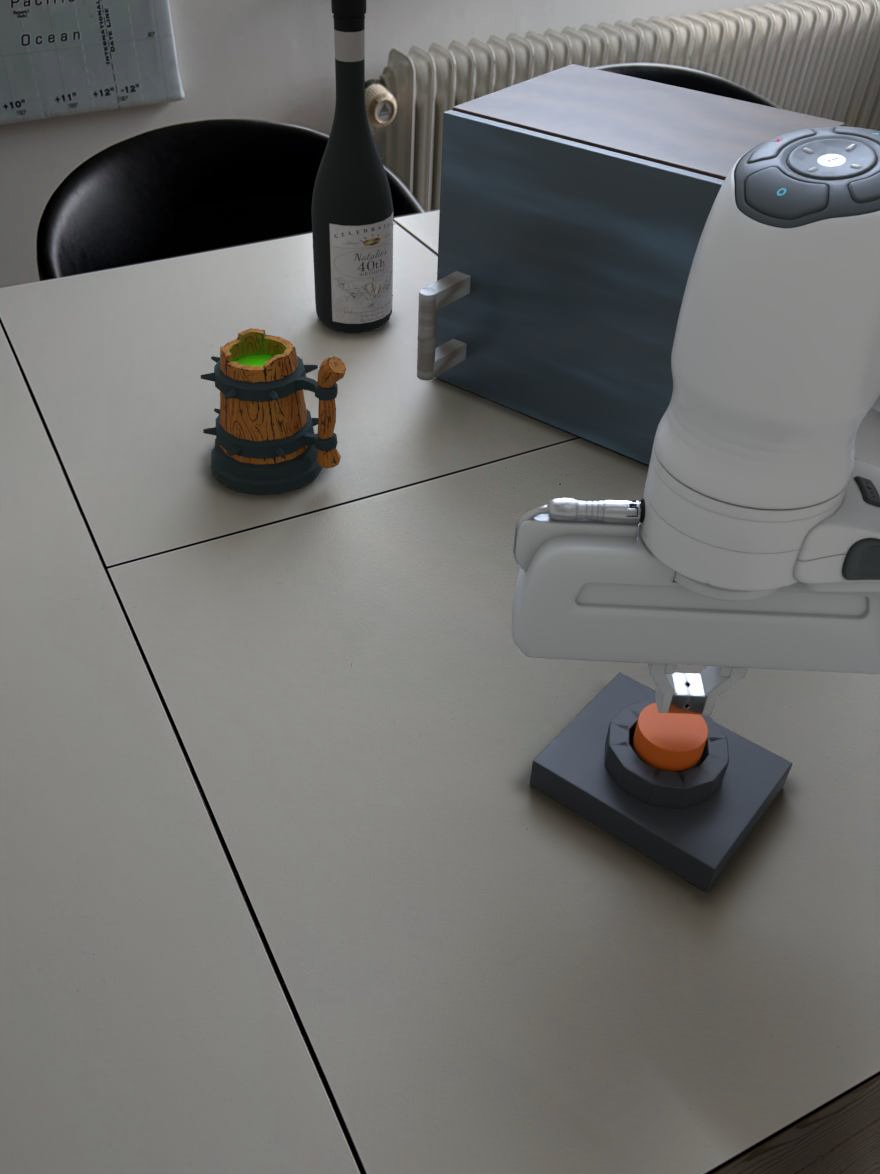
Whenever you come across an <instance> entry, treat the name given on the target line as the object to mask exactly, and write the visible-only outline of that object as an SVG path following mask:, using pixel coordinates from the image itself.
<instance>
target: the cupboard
mask: <svg viewBox="0 0 880 1174" xmlns="http://www.w3.org/2000/svg"><path fill="white" fill-rule="evenodd" d="M451 110H453V111H457V112H461V113H465V114H469V115H472V116H476V117H480V118H484V119H488V120H492V121H496V122H500V123H504V124H507V125H511V126H515V127H519V128H523V129H527V130H531V131H535V132H539V133H542V134H546V135H550V136H554V137H558V138H562V139H566V140H570V141H574V142H577V143H581V144H585V145H589V146H593V147H597V148H601V149H605V150H608V151H612V152H616V153H620V154H624V155H628V156H632V157H636V158H640V159H643V160H647V161H651V162H655V163H659V164H663V165H667V166H671V167H675V168H678V169H682V170H686V171H690V172H694V173H698V174H702V175H706V176H710V177H713V178H717V179H721V180H725V179H726V177H727V175H728V173H729V171H730V170H731V168H732V167H733V165H734V164H735V163H736V162H737V160H738V159H739V158H740V157H741V156H742V155H743V154H745V153H746V152H747V151H749V150H750V149H752V148H753V147H755V146H757V145H759V144H761V143H763V142H765V141H767V140H770V139H772V138H775V137H777V136H780V135H783V134H786V133H789V132H793V131H797V130H802V129H812V128H821V127H838V126H846V122H844V121H839V120H834V119H830V118H825V117H819V116H816V115H811V114H806V113H801V112H797V111H793V110H787V109H783V108H778V107H774V106H769V105H765V104H761V103H756V102H751V101H747V100H741V99H737V98H732V97H727V96H723V95H718V94H714V93H709V92H705V91H701V90H700V91H699V90H695V89H691V88H686V87H682V86H681V87H680V86H676V85H672V84H667V83H662V82H658V81H653V80H648V79H643V78H640V77H635V76H631V75H625V74H621V73H617V72H612V71H606V70H604V69H603V70H602V69H597V68H593V67H588V66H584V65H579V64H575V63H571V64H568V65H566V66H562V67H560V68H557V69H554V70H552V71H549V72H546V73H543V74H540V75H538V76H534V77H532V78H530V79H527V80H523V81H521V82H518V83H515V84H513V85H510V86H507V87H504V88H502V89H499V90H496V91H493V92H490V93H487V94H484V95H482V96H479V97H477V98H474V99H471V100H468V101H466V102H465V101H464V102H463V103H460V104H457V105H455V106H452V109H451Z"/></svg>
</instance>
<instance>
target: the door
mask: <svg viewBox="0 0 880 1174" xmlns="http://www.w3.org/2000/svg"><path fill="white" fill-rule="evenodd" d="M441 139H442V140H441V160H440V161H441V163H440V165H441V166H440V188H439V190H440V191H439V192H440V193H439V214H438V215H439V217H438V218H439V219H438V241H437V242H438V243H437V245H438V246H437V266H436V268H437V269H436V270H437V273H436V281H434V282H432V283H430V284H428V285H425V286H424V287H422V288H420V289H419V291H418V311H417V312H418V313H417V314H418V316H417V350H416V351H417V353H416V354H417V357H416V377H417V379H419V380H421V381H431V380H433V379H435V378H437V379H439V380H442V381H444V382H447V383H449V384H451V385H454V386H456V387H459V388H462V389H463V390H465V391H468V392H471V393H473V394H476V395H478V396H481V397H482V398H485V399H488V400H490V401H492V402H495V403H497V404H499V405H502V406H504V407H507V408H509V409H512V410H514V411H516V412H518V413H521V414H524V415H526V416H529V417H531V418H533V419H536V420H538V421H541V422H543V423H545V424H548V425H550V426H553V427H555V428H558V429H560V430H563V431H566V433H567V432H568V433H570V434H572V435H574V436H577V437H579V438H582V439H585V440H587V441H589V442H591V443H594V444H596V445H599V446H602V447H604V448H606V449H609V450H611V451H614V452H616V453H618V454H621V455H623V456H625V457H628V458H631V459H632V460H635V461H637V462H640V463H643V464H645V465H647V466H649V464H650V459H651V454H652V448H653V443H654V438H655V434H656V431H657V428H658V425H659V423H660V421H661V419H662V417H663V415H664V413H665V412H666V410H667V408H668V406H669V404H670V401H671V398H672V393H673V376H672V369H671V353H672V348H673V343H674V338H675V333H676V328H677V322H678V318H679V314H680V309H681V305H682V300H683V296H684V292H685V288H686V284H687V280H688V277H689V273H690V270H691V266H692V263H693V259H694V256H695V253H696V249H697V246H698V243H699V240H700V237H701V234H702V232H703V229H704V226H705V224H706V221H707V218H708V216H709V213H710V211H711V208H712V206H713V204H714V201H715V199H716V197H717V195H718V193H719V190H720V188H721V186H722V184H723V182H724V180H721V179H717V178H713V177H710V176H706V175H702V174H698V173H694V172H690V171H686V170H682V169H678V168H675V167H671V166H667V165H663V164H659V163H655V162H651V161H647V160H643V159H640V158H636V157H632V156H628V155H624V154H620V153H616V152H612V151H608V150H605V149H601V148H597V147H593V146H589V145H585V144H581V143H577V142H574V141H570V140H566V139H562V138H558V137H554V136H550V135H546V134H542V133H539V132H535V131H531V130H527V129H523V128H519V127H515V126H511V125H507V124H504V123H500V122H496V121H492V120H488V119H484V118H480V117H476V116H472V115H469V114H465V113H461V112H457V111H453V110H452V109H449V110H445V111H443V113H442V136H441Z"/></svg>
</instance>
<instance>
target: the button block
mask: <svg viewBox="0 0 880 1174" xmlns="http://www.w3.org/2000/svg"><path fill="white" fill-rule="evenodd" d="M655 702H656V690H654V689H653V688H650V687H649V686H647V685H645V684H643V683H641V682H639V681H637V680H635V679H633V678H631V677H629V676H628V675H626V674H624V673H622V672H618V673H617V674H616V675H615V676H614V678H612V679H611V681H609V682H608V683H607V685H605V687H604V688H602V689H601V690H600V691H599V693H597V695H596V696H595V697H594V698H593V699H592V700H591V701H590V702H589V703H588V704H586V706H585V707H584V708H583V709H582V710H581V711H580V712H579V713H578V714H577V715H576V716H575V717H574V718H573V719H572V720H571V721H570V722H569V723H568V724H567V726H565V728H563V730H561V732H560V733H558V735H556V736H555V737H554V739H553V740H552V741H550V743H549V744H547V746H546V747H545V748H544V749H543V750H542V751H541V752H539V754H538V755H537V756H536V757H535V758H534V759H533V760H532V765H531V770H530V771H531V772H530V778H529V785H531V786H532V787H533V788H535V789H537V790H539V791H540V792H542V793H543V794H545V795H547V796H548V797H550V798H551V799H553V800H555V801H557V802H558V803H560V804H562V805H563V806H565V807H567V809H569V810H571V811H572V812H575V813H577V814H578V815H579V816H581V817H583V818H584V819H585V820H588V821H589V822H591V823H593V824H594V825H596V826H597V827H599V828H601V829H602V830H604V831H606V832H607V833H609V834H610V835H612V836H613V837H615V838H617V839H619V840H620V841H622V842H624V843H625V844H627V845H628V846H630V847H631V848H633V849H635V850H637V851H638V852H640V853H641V854H643V855H645V856H646V857H648V858H650V859H651V860H653V861H654V862H656V863H658V864H659V865H661V866H662V867H664V868H666V869H668V870H669V871H671V872H673V873H674V874H676V875H678V876H679V877H680V878H682V879H684V880H685V881H688V882H689V883H691V884H692V885H694V886H695V887H697V888H699V889H700V890H702V891H704V892H706V893H707V892H708V891H709V890H710V888H711V887H712V886H713V884H714V883H715V881H716V880H717V879H718V877H719V876H720V875H721V873H722V872H723V870H724V869H725V868H726V866H727V865H728V863H730V861H731V859H732V858H733V857H734V855H735V854H736V853H737V851H738V850H739V848H740V847H741V846H742V844H743V843H744V841H745V840H746V839H747V837H748V836H749V835H750V833H751V832H752V831H753V830H754V828H755V826H756V825H757V823H758V822H759V821H760V819H761V818H762V817H763V815H764V814H765V813H766V811H767V810H768V809H769V807H770V806H771V804H772V803H773V801H774V800H775V799H776V798H777V796H778V794H780V792H781V790H782V789H783V788H784V786H785V784H786V781H787V779H788V777H789V774H790V772H791V769H792V766H793V762H792V761H789V760H787V759H786V758H783V757H782V756H780V755H778V754H776V753H774V752H773V751H770V750H769V749H767V748H765V747H762V746H761V745H759V744H757V743H755V742H754V741H752V740H749V739H748V738H745V737H744V736H742V735H740V734H739V733H736V732H734V731H732V730H730V729H729V728H727V727H724V726H723V725H721V724H719V723H717V722H716V721H714V720H713V718H712V717H711V716H710V715H701V716H702V717H703V719H704V720H705V722H706V724H707V727H708V737H707V740H706V743H705V746H704V750H703V753H702V756H701V758H700V760H699V762H698V763H697V764H696V765H695V766H693V767H692V768H690V769H687V770H684V771H679V772H672V771H665V770H660V769H657V768H655V767H653V766H651V765H649V764H647V763H646V762H645V761H643V760H642V759H641V758H640V757H639V755H638V754H637V752H636V750H635V748H634V745H633V737H634V733H635V729H636V725H637V721H638V717H639V715H640V713H641V711H642V710H643V709H644V708H645V707H647V706H648V705H650V704H652V703H655Z"/></svg>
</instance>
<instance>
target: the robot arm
mask: <svg viewBox="0 0 880 1174" xmlns="http://www.w3.org/2000/svg"><path fill="white" fill-rule="evenodd" d="M671 369H672V376H673V393H672V398H671V401H670V404H669V406H668V408H667V410H666V412H665V413H664V415H663V417H662V419H661V421H660V423H659V425H658V428H657V431H656V434H655V438H654V443H653V448H652V454H651V459H650V464H649V465H648V470H647V474H646V479H645V485H644V489H643V496H642V498H641V499H639V500H638V499H618V498H617V499H616V498H615V499H614V498H611V499H607V498H605V499H598V500H597V499H593V500H589V499H586V500H585V499H577V498H576V497H569V496H568V497H567V496H565V497H564V496H563V497H554V498H553V497H552V498H550V499H549V500H548V504H542V505H539V506H535V507H533V508H531V509H530V510H528V511H526V512H525V513H524V514H522V515H521V516H520V518H519V519H518V521H517V522H516V526H515V529H514V540H513V549H512V552H513V553H512V554H513V558H514V560H515V562H516V563H517V565H518V566H519V571H518V575H517V577H516V583H515V588H514V593H513V598H512V605H511V607H512V611H511V632H512V634H511V635H512V642H513V643H514V644H515V646H516V647H517V648H518V649H519V650H520V652H521V653H522V654H523V655H524V656H526V657H528V658H532V659H545V660H546V659H547V660H548V659H549V660H552V659H553V660H571V661H589V662H590V661H591V662H593V661H594V662H610V663H611V662H613V663H630V664H632V663H635V664H647V666H648V673H649V675H650V677H651V678H652V680H653V682H654V683H655V685H656V687H655V691H656V704H657V711H658V713H677V714H695V715H708V716H711V715H712V713H713V710H714V707H715V703H716V701H717V697H721V696H722V695H723V694H725V693H726V692H727V691H729V690H730V689H731V688H734V686H736V684H738V683H740V682H741V681H742V680H744V679H745V677H746V674H747V671H748V669H755V670H756V669H757V670H758V669H759V670H760V669H761V670H779V671H780V670H781V671H801V672H821V673H843V674H862V675H863V674H864V675H880V467H879V466H877V465H873V464H870V463H867V462H864V461H861V460H858V459H856V451H855V450H856V449H855V447H856V446H855V445H856V442H855V441H856V437H857V434H858V433H857V432H858V429H859V428H860V425H861V424H862V422H863V420H864V419H865V417H866V415H867V414H868V413H869V411H870V410H871V409H872V410H874V411H876V412H878V413H880V130H877V129H870V128H865V127H857V126H848V125H847V126H846V125H845V126H838V127H821V128H812V129H802V130H797V131H793V132H789V133H786V134H783V135H780V136H777V137H775V138H772V139H770V140H767V141H765V142H763V143H761V144H759V145H757V146H755V147H753V148H752V149H750V150H749V151H747V152H746V153H745V154H743V155H742V156H741V157H740V158H739V159H738V160H737V162H736V163H735V164H734V165H733V167H732V168H731V170H730V171H729V173H728V175H727V177H726V179H725V180H724V182H723V184H722V186H721V188H720V190H719V193H718V195H717V197H716V199H715V201H714V204H713V206H712V208H711V211H710V213H709V216H708V218H707V221H706V224H705V226H704V229H703V232H702V234H701V237H700V240H699V243H698V246H697V249H696V253H695V256H694V259H693V263H692V266H691V270H690V273H689V277H688V280H687V284H686V288H685V292H684V296H683V300H682V305H681V309H680V314H679V318H678V322H677V328H676V333H675V338H674V343H673V348H672V353H671ZM678 666H693V667H694V666H697V667H705V668H704V669H702V671H700V673H699V672H698V673H697V672H696V673H695V672H677V669H678Z"/></svg>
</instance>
